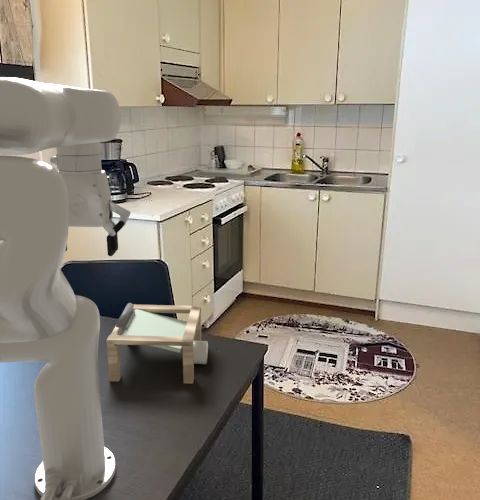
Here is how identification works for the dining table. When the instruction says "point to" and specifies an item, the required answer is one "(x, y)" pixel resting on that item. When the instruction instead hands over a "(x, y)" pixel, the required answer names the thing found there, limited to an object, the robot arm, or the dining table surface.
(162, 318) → the trapdoor
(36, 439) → the dining table surface
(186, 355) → the trapdoor frame
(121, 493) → the dining table surface
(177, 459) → the dining table surface
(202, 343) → the stone
